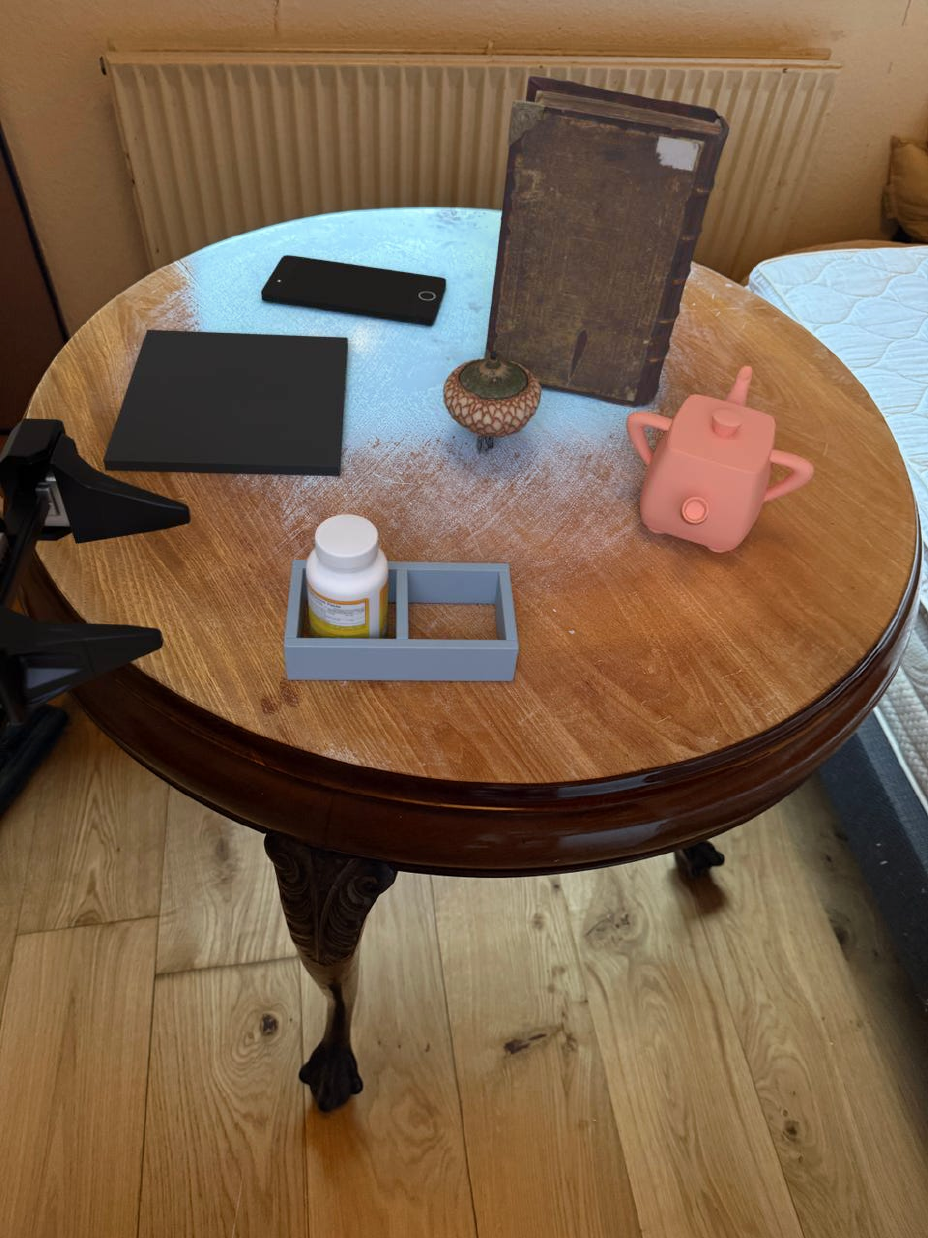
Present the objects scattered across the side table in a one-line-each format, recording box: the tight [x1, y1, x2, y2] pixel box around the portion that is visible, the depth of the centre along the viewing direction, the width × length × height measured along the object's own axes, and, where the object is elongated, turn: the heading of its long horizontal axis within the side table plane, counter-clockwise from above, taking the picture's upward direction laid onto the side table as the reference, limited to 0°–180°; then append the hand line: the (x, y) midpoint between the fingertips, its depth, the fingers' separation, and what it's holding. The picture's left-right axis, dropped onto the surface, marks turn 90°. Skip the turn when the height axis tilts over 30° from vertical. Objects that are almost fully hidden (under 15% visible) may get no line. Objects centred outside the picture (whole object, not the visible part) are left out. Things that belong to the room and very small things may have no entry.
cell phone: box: [260, 254, 447, 327], centre depth 97 cm, size 9×18×1 cm, turn 81°
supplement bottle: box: [306, 513, 389, 639], centre depth 62 cm, size 5×5×10 cm
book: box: [483, 74, 730, 408], centre depth 80 cm, size 17×7×25 cm, turn 71°
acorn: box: [442, 350, 542, 454], centre depth 77 cm, size 8×8×10 cm
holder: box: [283, 559, 520, 682], centre depth 64 cm, size 15×8×4 cm, turn 93°
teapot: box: [625, 365, 815, 554], centre depth 73 cm, size 14×12×10 cm
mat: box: [102, 329, 349, 477], centre depth 83 cm, size 19×20×1 cm
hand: (176, 572), depth 49 cm, fingers open, 9 cm apart
